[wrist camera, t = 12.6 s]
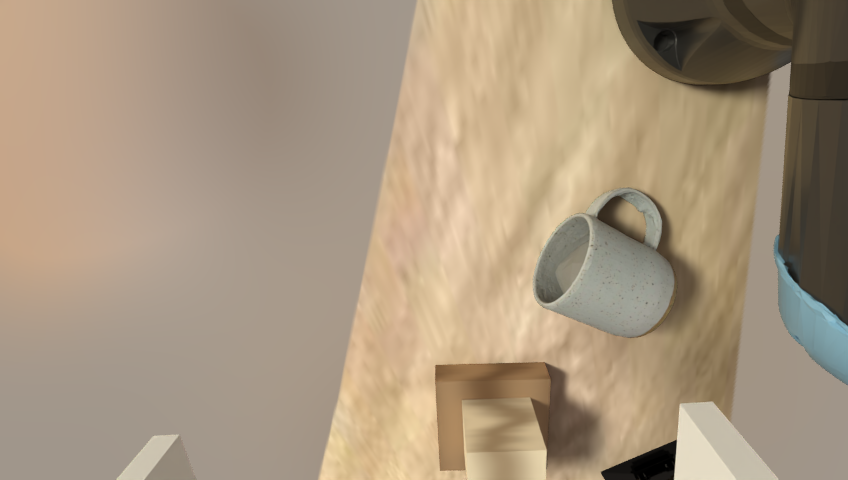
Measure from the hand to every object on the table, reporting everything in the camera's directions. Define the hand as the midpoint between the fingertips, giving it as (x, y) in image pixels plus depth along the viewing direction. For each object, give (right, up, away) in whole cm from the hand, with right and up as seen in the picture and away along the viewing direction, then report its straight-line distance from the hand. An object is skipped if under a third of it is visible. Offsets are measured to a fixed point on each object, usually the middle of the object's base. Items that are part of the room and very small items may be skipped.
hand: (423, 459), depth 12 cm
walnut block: (+6, -10, +31) cm, 33 cm away
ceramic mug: (+14, +5, +25) cm, 29 cm away
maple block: (+7, -11, +28) cm, 31 cm away
